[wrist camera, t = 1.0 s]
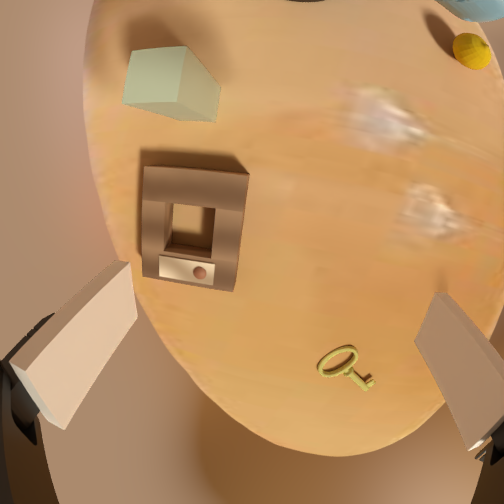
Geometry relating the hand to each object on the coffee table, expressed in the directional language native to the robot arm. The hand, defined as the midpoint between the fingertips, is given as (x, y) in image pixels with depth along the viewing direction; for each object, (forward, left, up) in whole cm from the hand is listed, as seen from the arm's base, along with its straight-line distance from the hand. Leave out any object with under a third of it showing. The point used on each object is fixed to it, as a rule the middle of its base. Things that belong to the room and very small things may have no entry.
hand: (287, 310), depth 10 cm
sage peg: (-11, -11, -23) cm, 28 cm away
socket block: (+4, -10, -23) cm, 25 cm away
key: (+25, +17, -24) cm, 38 cm away
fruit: (-28, +23, -23) cm, 43 cm away
